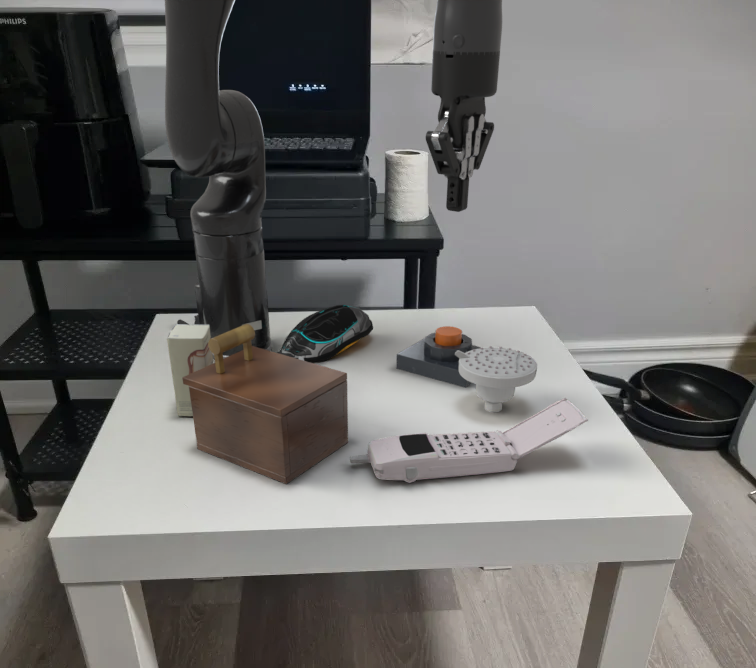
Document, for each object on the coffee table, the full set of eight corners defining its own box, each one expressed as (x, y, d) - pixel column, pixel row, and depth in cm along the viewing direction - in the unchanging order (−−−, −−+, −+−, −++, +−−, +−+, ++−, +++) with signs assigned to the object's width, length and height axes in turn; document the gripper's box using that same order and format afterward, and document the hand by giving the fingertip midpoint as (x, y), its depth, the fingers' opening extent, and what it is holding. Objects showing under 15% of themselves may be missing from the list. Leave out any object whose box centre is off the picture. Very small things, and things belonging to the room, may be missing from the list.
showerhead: (459, 336, 94) (539, 343, 93) (455, 389, 98) (532, 396, 97) (450, 365, 87) (537, 373, 85) (446, 421, 91) (529, 429, 89)
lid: (183, 384, 81) (176, 341, 78) (252, 352, 88) (248, 312, 86) (281, 417, 74) (278, 372, 72) (347, 379, 82) (346, 337, 79)
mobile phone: (592, 420, 78) (357, 438, 74) (583, 468, 82) (358, 489, 77) (569, 396, 83) (348, 412, 79) (561, 443, 87) (348, 461, 82)
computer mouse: (261, 353, 108) (257, 314, 105) (352, 327, 117) (351, 291, 114) (295, 372, 103) (293, 332, 99) (388, 343, 112) (388, 306, 109)
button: (430, 344, 102) (430, 331, 101) (443, 336, 105) (444, 324, 104) (453, 349, 100) (453, 337, 99) (465, 341, 103) (466, 329, 102)
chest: (197, 449, 85) (188, 385, 80) (262, 413, 92) (257, 353, 88) (286, 484, 78) (281, 417, 74) (348, 442, 86) (347, 380, 82)
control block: (396, 368, 104) (396, 341, 102) (429, 348, 110) (430, 322, 108) (465, 388, 99) (467, 359, 97) (496, 366, 105) (499, 338, 103)
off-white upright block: (213, 417, 91) (202, 338, 86) (176, 417, 91) (164, 338, 85) (219, 399, 95) (210, 323, 90) (185, 399, 95) (173, 323, 90)
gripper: (465, 44, 90) (456, 197, 99) (406, 48, 80) (402, 216, 90) (522, 46, 86) (507, 204, 96) (467, 50, 77) (456, 224, 87)
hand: (456, 210), depth 93 cm, fingers closed
